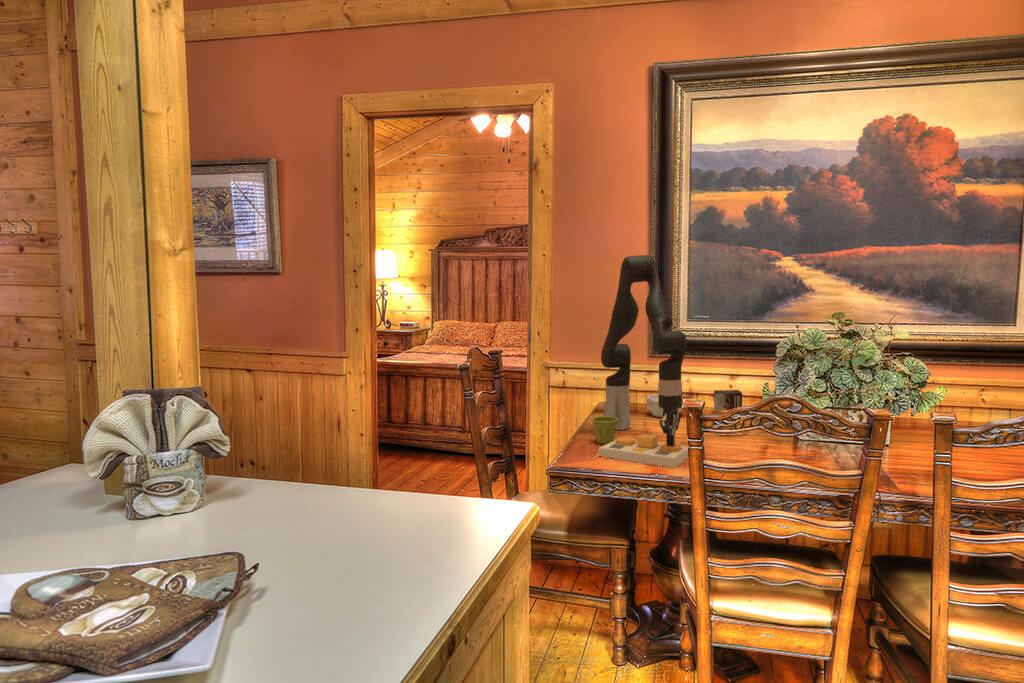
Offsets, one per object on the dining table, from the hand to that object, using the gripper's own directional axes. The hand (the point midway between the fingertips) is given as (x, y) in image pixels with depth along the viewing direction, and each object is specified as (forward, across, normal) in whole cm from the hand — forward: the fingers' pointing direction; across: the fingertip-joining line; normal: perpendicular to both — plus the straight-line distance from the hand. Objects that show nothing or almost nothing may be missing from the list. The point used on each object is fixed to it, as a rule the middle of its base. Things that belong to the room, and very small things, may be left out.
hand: (670, 445), depth 213 cm
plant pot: (+4, -8, -28) cm, 30 cm away
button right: (+3, 0, 0) cm, 3 cm away
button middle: (+1, 0, -8) cm, 8 cm away
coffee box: (+4, -41, +6) cm, 42 cm away
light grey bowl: (+4, -61, -27) cm, 67 cm away
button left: (+3, 0, -16) cm, 16 cm away
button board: (+4, +2, -8) cm, 9 cm away
